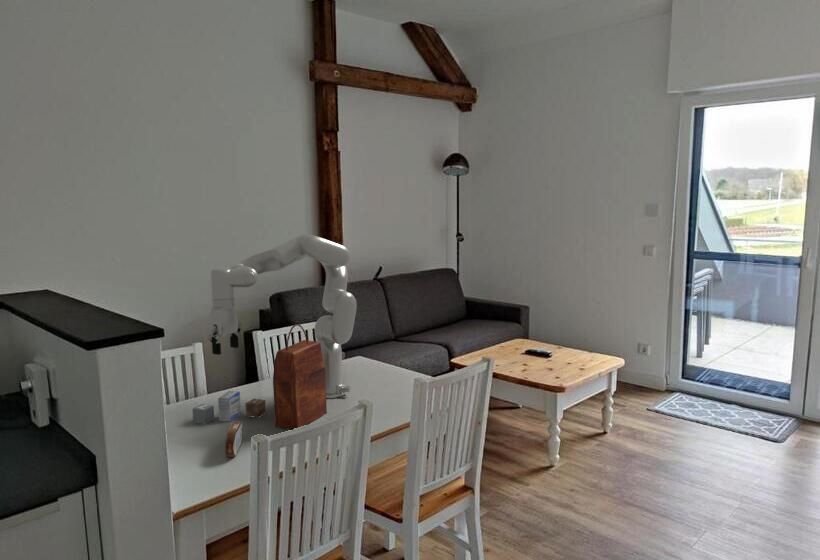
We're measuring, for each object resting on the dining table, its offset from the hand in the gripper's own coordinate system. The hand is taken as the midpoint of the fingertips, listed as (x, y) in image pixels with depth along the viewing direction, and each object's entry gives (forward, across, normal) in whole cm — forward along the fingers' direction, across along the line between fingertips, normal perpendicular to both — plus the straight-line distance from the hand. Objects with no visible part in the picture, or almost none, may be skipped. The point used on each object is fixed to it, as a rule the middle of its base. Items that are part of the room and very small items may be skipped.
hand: (225, 350), depth 208 cm
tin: (+25, +23, +20) cm, 39 cm away
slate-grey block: (+25, +6, -6) cm, 26 cm away
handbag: (+25, -7, +26) cm, 36 cm away
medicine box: (+25, 0, +1) cm, 25 cm away
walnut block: (+25, -6, +8) cm, 26 cm away
